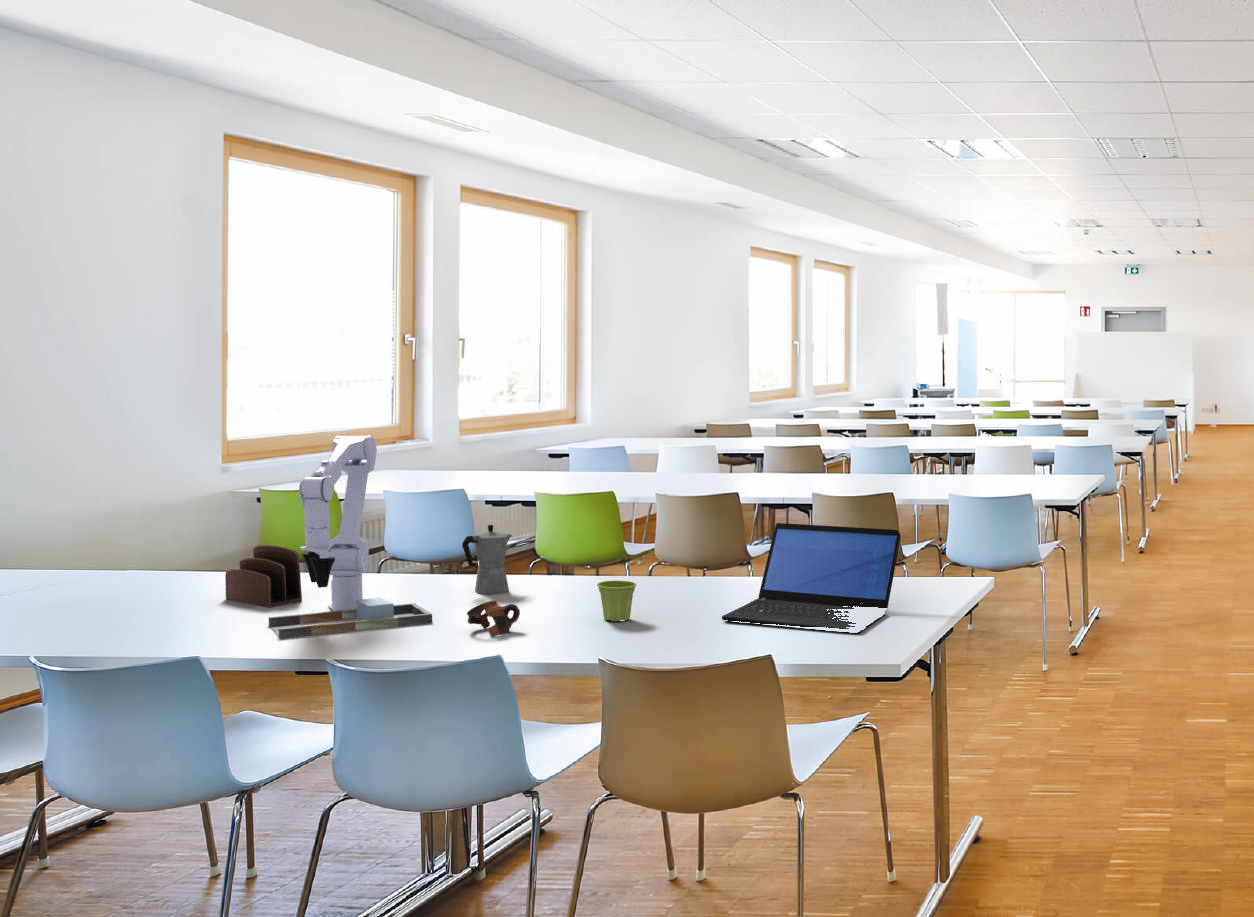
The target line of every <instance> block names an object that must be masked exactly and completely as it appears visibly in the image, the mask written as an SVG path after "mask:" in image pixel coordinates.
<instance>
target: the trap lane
mask: <svg viewBox="0 0 1254 917" xmlns="http://www.w3.org/2000/svg"><path fill="white" fill-rule="evenodd" d="M393 609H394V617H389V618H379V619H369V620H360V621H358V620H353V621H352V620H351V621H343V622H331V621H339V620H350V619H357V609H349V610H339V611H333V610H330V611H329V610H328V611H322V612H321V611H320V612H310V613H299V614H290V615H280V616H269V617H268V627H269V628H270V629H271V630H272V631H273V632H274V633H275V634H276V636H277V637H278V638H279V639H287V638H289V639H290V638H297V637H307V636H317V635H325V634H334V633H335V634H336V633H346V632H355V631H363V630H365V631H366V630H373V629H384V628H385V629H386V628H393V627H402V626H411V625H421V624H430V623H433V613H431V612H429V611H428V610H426V609H425V608H423V607H421V606H420V605H419V604H416V603H415V602H413V603H412V602H411V603H403V604H402V603H401V604H393ZM327 621H328V622H329V621H330V622H331V623H322V624H312V625H311V624H310V625H302V624H308V623H319V622H327Z"/></svg>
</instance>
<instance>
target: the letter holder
mask: <svg viewBox="0 0 1254 917" xmlns="http://www.w3.org/2000/svg"><path fill="white" fill-rule="evenodd" d="M252 550H253V553H252V554H253V557H245V558H241V559H240V560H239V569H235V568H234V569H228V570H226V571H225V575H224V576H225V600H230V601H234V602H239V603H243V604H248V605H249V604H250V605H255V606H260V607H265V608H270V609H271V608H275V607H281V606H287V605H292V604H296V603H301V602H302V601H303V596H302V595H303V593H302V582H301V580H302V579H301V577H302V576H301V568H300V554H299V553H298V552H297V551H295V550H293V549H291V548H287V547H284V546H278V545H272V544H271V545H269V544H268V545H265V544H262V545H255V546H254V547H253V549H252Z"/></svg>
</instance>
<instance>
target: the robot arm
mask: <svg viewBox="0 0 1254 917" xmlns="http://www.w3.org/2000/svg"><path fill="white" fill-rule="evenodd" d="M331 446H332V447H331V452H332V453H331V454H330V456H329V458H328V459H323V460H321V462H320V463H319V464H318V466H317V467H316V469H314V471H313V472H312V473H311V475H310V476H306V477H304V478H303V479H301V481H300V483H299V487H298V488H299V489H298V496H299V499H300V501H301V508H302V509H303V510H304V511H303V512H304V513H303V515H304V518H303V519H304V539H305V540H304V542H305V543H304V544H305V546H300V547H299V549H300V551H306V552H303V553H301V555H302V557H303V559H304V562H305V564H306V567H307V571H308V574H309V578H310V582H311V583H316V584H317V587H318V589H319V588H320V589H321V588H328V586H329V582H330V576H332V579H331V582H330V584H331V585H330V586H331V590H330V591H331V604H328V605H327V607H328V608H329V609H330V610H331V611H339V610H349V609H357V600H362V599H364V598H363V597H364V596H363V592H364V591H363V574H365V572H366V571H367V570H368V568H369V565H370V564H369V563H370V556H369V550H370V548H369V547H370V546H369V544H368V542H367V541H366V540H364V539H363V537H360V536H361V535H360V532H361V526H362V519H363V514H364V513H363V511H364V507H365V506H364V505H365V500H366V499H365V498H366V493H367V492H366V491H367V485H368V478H369V474H370V473H371V472H372V471H374V470H375V465H376V458H377V452H378V450H377V443H376V440H375V438H374V437H373V435H370V434H369V435H336V436H335V437H334V439H333V441H332V445H331ZM342 472H344V473H346V474H347V479H346V480H347V481H346V486H345V487H346V488H345V493H344V500H343V507H342V515H341V521H340V529H339V534H337V535H336V536H335V537H333V538H331V526H330V525H331V524H330V501H331V500H332V498H333V494H334V490H335V485H336V484H337V482H338V481H339V479H340V478H341V476H342Z"/></svg>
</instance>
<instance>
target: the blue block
mask: <svg viewBox="0 0 1254 917" xmlns="http://www.w3.org/2000/svg"><path fill="white" fill-rule="evenodd" d="M393 605H394V603H393V602H391V601H389V600H387V599H385V598H382V597H373V598H363V599H362V600H357V618H356V621H360V620H369V619H379V618H389V617H394V609H393Z"/></svg>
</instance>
